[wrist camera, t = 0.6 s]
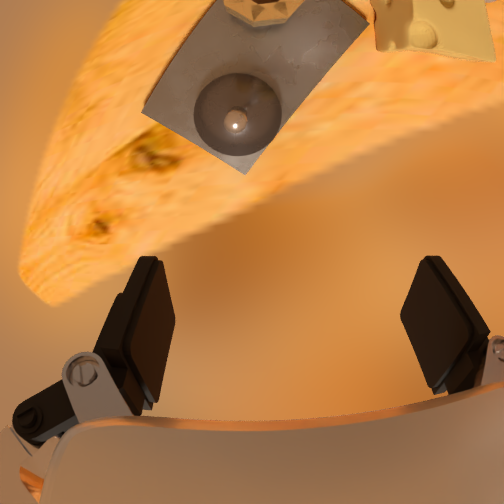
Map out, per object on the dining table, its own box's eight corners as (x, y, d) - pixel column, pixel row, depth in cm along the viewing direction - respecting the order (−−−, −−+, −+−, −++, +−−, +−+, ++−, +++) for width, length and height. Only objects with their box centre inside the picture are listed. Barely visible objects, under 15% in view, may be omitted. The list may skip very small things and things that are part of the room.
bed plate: (262, -46, 20) (262, -50, 19) (366, 24, 24) (369, 23, 23) (144, 110, 30) (141, 112, 29) (245, 171, 35) (245, 175, 34)
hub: (227, 57, 27) (221, 54, 21) (295, 103, 30) (307, 112, 24) (182, 123, 32) (166, 137, 26) (248, 163, 34) (247, 187, 29)
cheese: (374, 52, 26) (417, 52, 18) (359, -29, 20) (395, -54, 12) (447, 58, 25) (498, 66, 17) (434, -17, 19) (483, -28, 11)
